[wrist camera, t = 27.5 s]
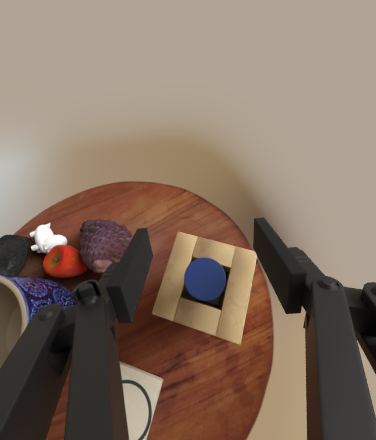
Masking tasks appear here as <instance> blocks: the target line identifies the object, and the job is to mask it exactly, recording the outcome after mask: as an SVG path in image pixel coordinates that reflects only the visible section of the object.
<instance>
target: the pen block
mask: <svg viewBox="0 0 376 440" xmlns="http://www.w3.org/2000/svg"><path fill="white" fill-rule="evenodd" d="M202 257H207V258H211V259H214V260H215V261H217V262H218V263H219V264H220V265H221V266H222V267H223V269H224V271H225V275H226V285H225V288H224V290H223V292H222V293H221V294H220V295H219V296H218V297H217V298H215V299H213V300H210V301H201V300H198V299H196V298H194V297H193V296H191V295H190V294H189V292H188V291H187V289H186V287H185V283H184V274H185V271H186V269H187V267H188V265H189V264H190V263H191V262H192V261H194V260H196V259H198V258H202ZM256 258H257V254H256V252H255V251H251V250H247V249H243V248H240V247H235V246H232V245H228V244H224V243H220V242H216V241H212V240H209V239H205V238H201V237H197V236H193V235H189V234H185V233H182V232H178V233H177V236H176V239H175V242H174V245H173V248H172V252H171V255H170V258H169V261H168V264H167V267H166V270H165V273H164V276H163V280H162V283H161V286H160V289H159V292H158V295H157V298H156V301H155V304H154V307H153V311H152V314H154V315H156V316H159V317H162V318H165V319H168V320H171V321H174V322H176V323H179V324H182V325H185V326H188V327H191V328H193V329H196V330H199V331H202V332H205V333H208V334H211V335H214V336H216V337H219V338H222V339H225V340H228V341H231V342H233V343H236V344H239V345H240V344H241V339H242V334H243V329H244V323H245V318H246V312H247V307H248V302H249V296H250V291H251V285H252V280H253V275H254V269H255V264H256Z"/></svg>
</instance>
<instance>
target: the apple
mask: <svg viewBox="0 0 376 440" xmlns="http://www.w3.org/2000/svg"><path fill="white" fill-rule="evenodd" d="M87 269H88V267H87V265H86V264H85V263H83V261H82V256H81V255H80V253H79V250H78V249H76V248H74V247H72V246H69V245H56V246H54V247H53V248H52V249H51V250H50V251H49V252H48V254H47V255H46V256H45V258H44V261H43V270H44V271H45V273H46V274H47V275H49V276H52V277H57V278H66V277H73V276H77V275H80V274H82V273H84V272H85V271H86V270H87Z"/></svg>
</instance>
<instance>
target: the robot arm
mask: <svg viewBox="0 0 376 440" xmlns="http://www.w3.org/2000/svg"><path fill="white" fill-rule="evenodd" d="M253 248H254V250H255V252H256V254H257V256H258V258H259V260H260V262H261V264H262V266H263V268H264V270H265V272H266V274H267V276H268V278H269V281H270V283H271V284H272V286H273V289H274V291H275V293H276V295H277V296H278V299H279V301H280V303H281V304H282V307H283V309H284V310H285V313H286V314H293V313H301V307H302V306H303V308H304V309H305V311H306V316H305V321H304V328H305V338H306V391H307V392H306V398H307V440H376V417H375V413H374V409H373V405H372V400H371V396H370V393H369V388H368V384H367V380H366V376H365V372H364V368H363V364H362V360H361V355H360V352H359V347H358V343H357V340H358V342H359V344H360V346H361V348H362V349H363V351H364V353H365V355H366V357H367V359H368V361H369V362H370V364H371V366H372V368H373V370H374V372H375V374H376V283H374V282H372V283H366V284H365V285H364V287H363V290H361V289H355V288H348V287H343V285H342V284H341V283H340V282H339V281H338V280H336V279H334V278H331V277H328V276H325V275H324V274H323V273H322V272H321V271H320V270H319V268H318V267H317V266H316V265H315V264H314V263H313V262H312V261H311V260H310V258H308V256H307V255H306V254H305V253H304V252H303V251H302V250H300V249H298V248H297V247H294V248H287V246H286V245H285V244H284V243H283V242H282V240H281V239H280V237H279V236H278V235H277V234H276V232H275V231H274V230H273V228H272V227H271V226H270V225H269V223H268V222H267V221H266V220H265V218H255V219H254V243H253ZM152 257H153V254H152V249H151V245H150V240H149V236H148V231H147V228H141V229H137V231H136V233H135V235H134V237H133V238H132V240H131V242H130V244H129V246H128V247H127V249H126V251H125V253H124V255H123V257H122V258H121V260H120V261H119V262H113V263H111V264H110V265H109V266H108V267H107V268H106V270H105V272H104V273H103V275H102V278H100V280H99V281H96V280H87V281H84V282H82V283H80V284H78V285H77V286H76V287H75V288H74V289H73V290H72V296H73V298H74V300H75V302H76V304H77V305H74V306H71V307H67V308H64V309H62V307H61V305H60V304H57V303H55V304H50V305H47V306H45V307H43V308H41V309H40V310H39V311H38V312H36V314H35V315H34V316H33V317H32V319H31V320H30V322H29V324H28V325H27V327H26V328H25V330H24V332H23V333H22V335H21V336H20V338H19V340H18V341H17V343H16V344H15V346H14V347H13V349H12V351H11V352H10V354H9V355H8V357H7V359H6V360H5V362H4V363H3V365H2V366H1V368H0V440H45V439H46V436H47V433H48V430H49V427H50V424H51V422H52V419H53V416H54V413H55V410H56V407H57V404H58V401H59V398H60V395H61V392H62V389H63V386H64V383H65V380H66V377H67V374H68V371H69V368H70V365H71V372H70V382H69V393H68V403H67V414H66V424H65V435H64V440H129V434H128V426H127V417H126V409H125V401H124V393H123V385H122V377H121V368H120V360H119V352H118V344H117V336H116V328H115V325H114V321H115V319H116V317H117V319H118V322H119V323H132V321H133V318H134V314H135V311H136V308H137V305H138V302H139V298H140V295H141V292H142V289H143V286H144V283H145V279H146V276H147V273H148V270H149V267H150V264H151V260H152ZM356 338H357V339H356Z"/></svg>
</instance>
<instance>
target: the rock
mask: <svg viewBox="0 0 376 440" xmlns="http://www.w3.org/2000/svg"><path fill="white" fill-rule="evenodd" d="M31 243H32V240H31V239H30V238H27V237H22V236H18V235H5V236H3V237H1V238H0V274H7V275H17V274H18V273H19V272H20V271H21V269H22V268H23V266H24V264H25V262H26V258H27V253H28V251H29V247H30V245H31Z"/></svg>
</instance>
